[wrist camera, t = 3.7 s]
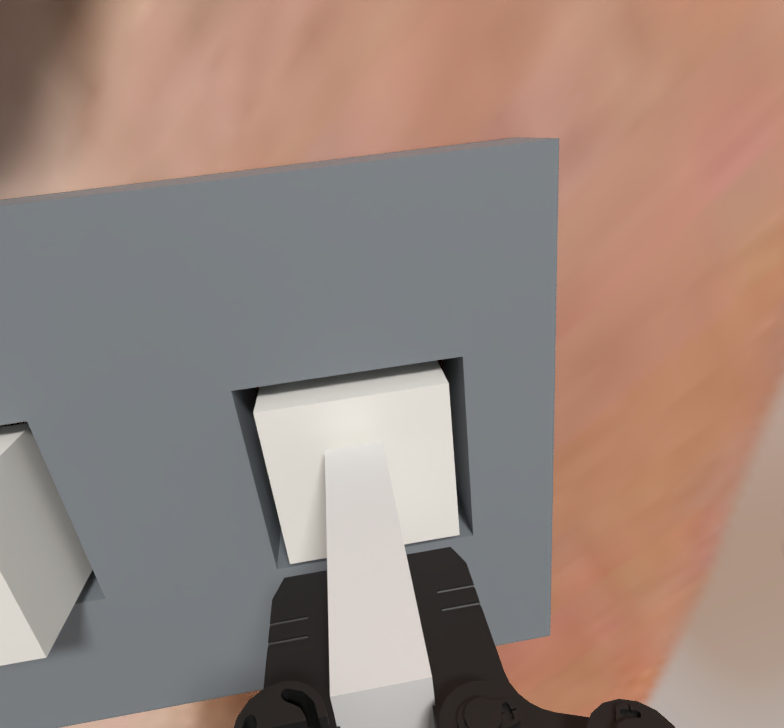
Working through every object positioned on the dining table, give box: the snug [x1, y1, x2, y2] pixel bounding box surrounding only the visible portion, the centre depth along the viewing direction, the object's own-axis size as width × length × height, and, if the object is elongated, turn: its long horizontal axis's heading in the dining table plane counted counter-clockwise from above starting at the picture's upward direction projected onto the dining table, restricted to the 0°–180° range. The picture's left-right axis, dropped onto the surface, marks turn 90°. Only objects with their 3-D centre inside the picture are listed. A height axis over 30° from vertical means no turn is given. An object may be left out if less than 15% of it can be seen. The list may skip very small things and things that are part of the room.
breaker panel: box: [0, 138, 559, 728], centre depth 16 cm, size 22×16×3 cm
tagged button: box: [253, 360, 460, 564], centre depth 16 cm, size 5×5×3 cm
